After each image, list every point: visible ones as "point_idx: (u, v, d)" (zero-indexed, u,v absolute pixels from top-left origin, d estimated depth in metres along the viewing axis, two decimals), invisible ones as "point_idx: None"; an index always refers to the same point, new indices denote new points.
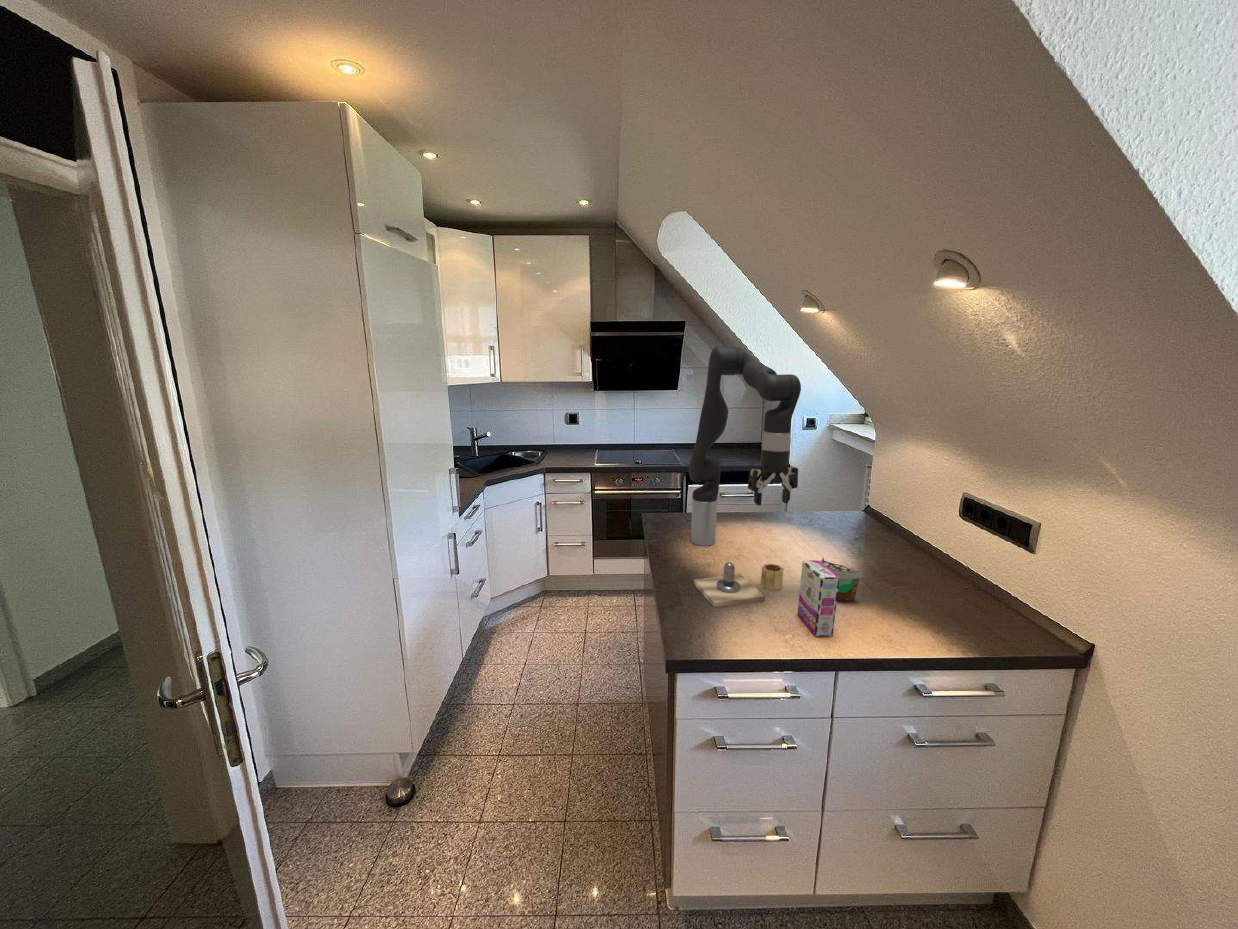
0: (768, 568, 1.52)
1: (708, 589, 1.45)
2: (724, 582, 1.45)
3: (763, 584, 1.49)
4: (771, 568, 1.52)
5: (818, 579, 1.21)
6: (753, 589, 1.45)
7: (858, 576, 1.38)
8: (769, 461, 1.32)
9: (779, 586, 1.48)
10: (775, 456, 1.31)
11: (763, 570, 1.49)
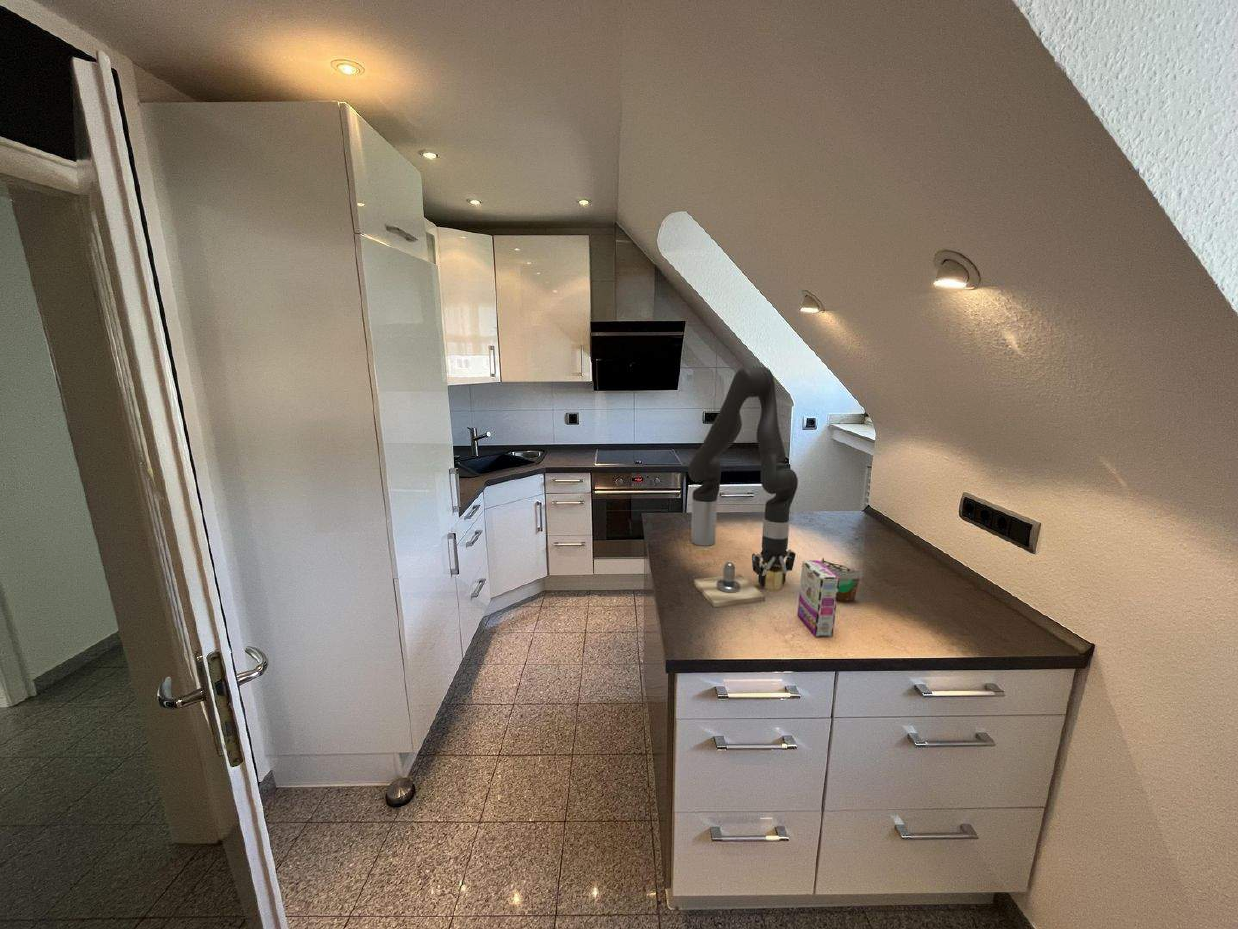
0: None
1: (708, 589, 1.45)
2: (724, 582, 1.45)
3: None
4: (771, 568, 1.52)
5: (818, 579, 1.21)
6: (753, 589, 1.45)
7: (858, 576, 1.38)
8: (769, 547, 1.45)
9: (779, 586, 1.48)
10: (774, 543, 1.44)
11: None
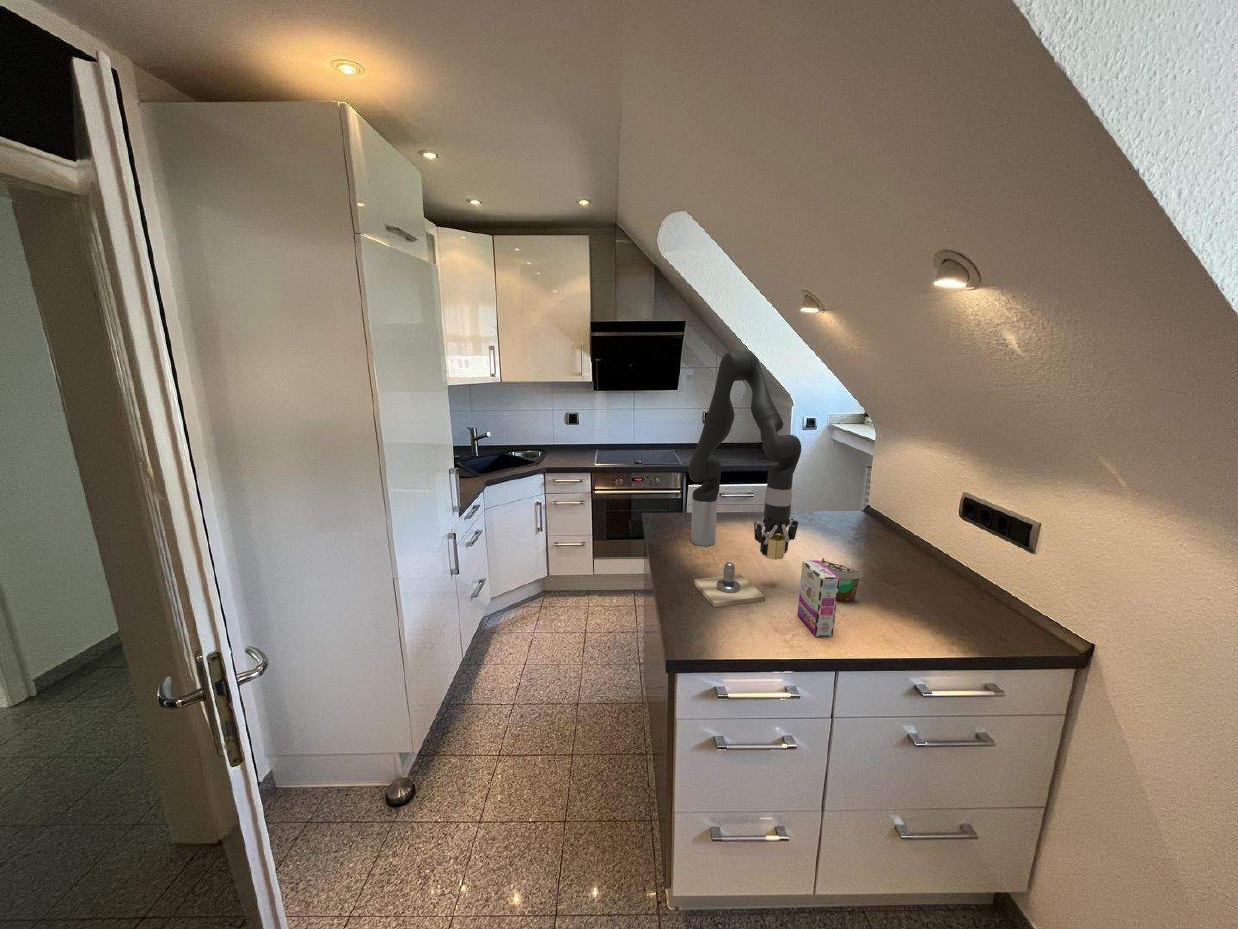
0: None
1: (708, 589, 1.45)
2: (724, 582, 1.45)
3: None
4: (773, 537, 1.50)
5: (818, 580, 1.21)
6: (753, 589, 1.45)
7: (858, 576, 1.38)
8: (772, 514, 1.42)
9: (781, 555, 1.46)
10: (777, 510, 1.41)
11: None
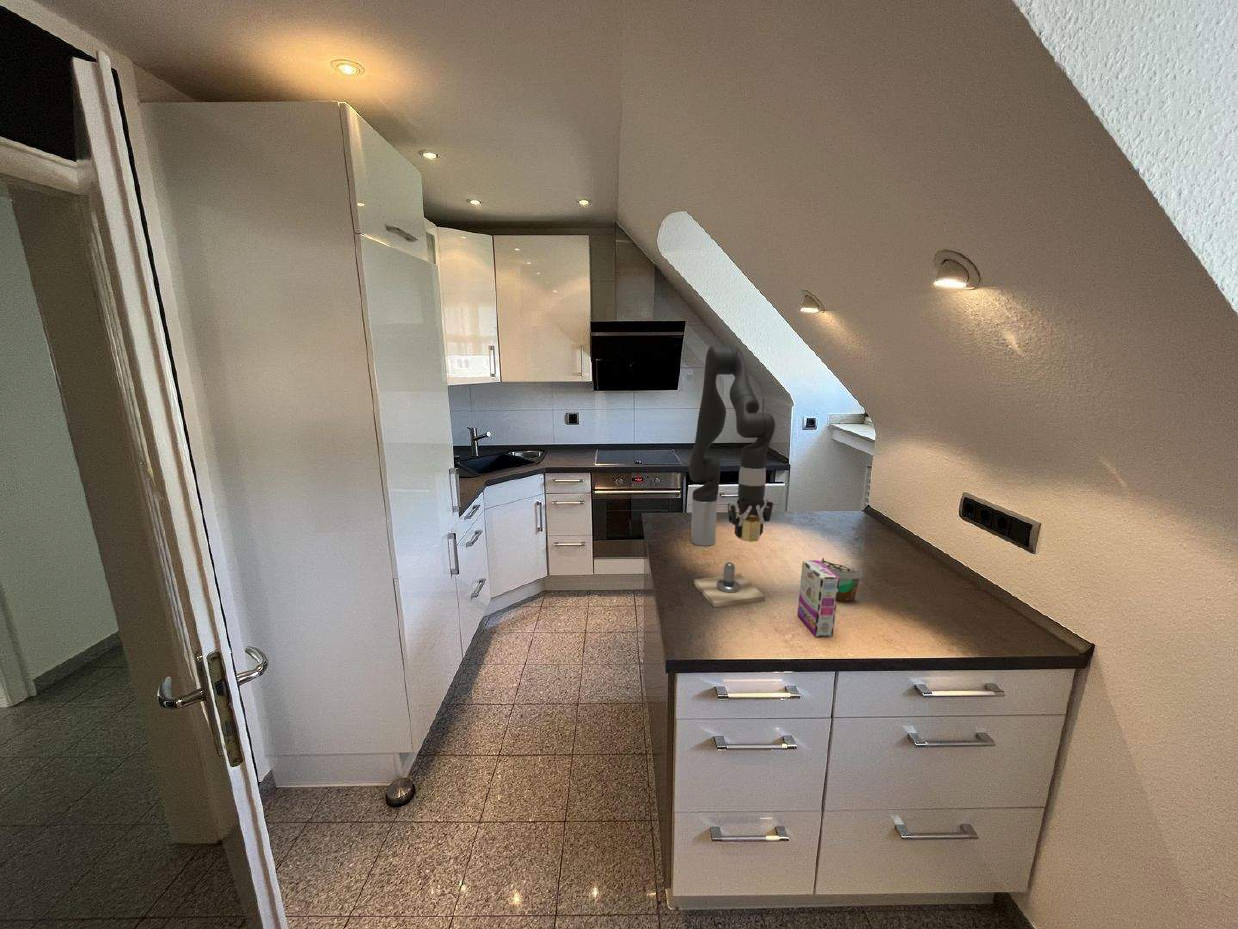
0: (745, 519, 1.45)
1: (708, 589, 1.45)
2: (724, 582, 1.45)
3: None
4: (748, 520, 1.45)
5: (818, 579, 1.21)
6: (753, 589, 1.45)
7: (858, 576, 1.38)
8: (746, 495, 1.38)
9: (756, 537, 1.41)
10: (751, 490, 1.37)
11: None
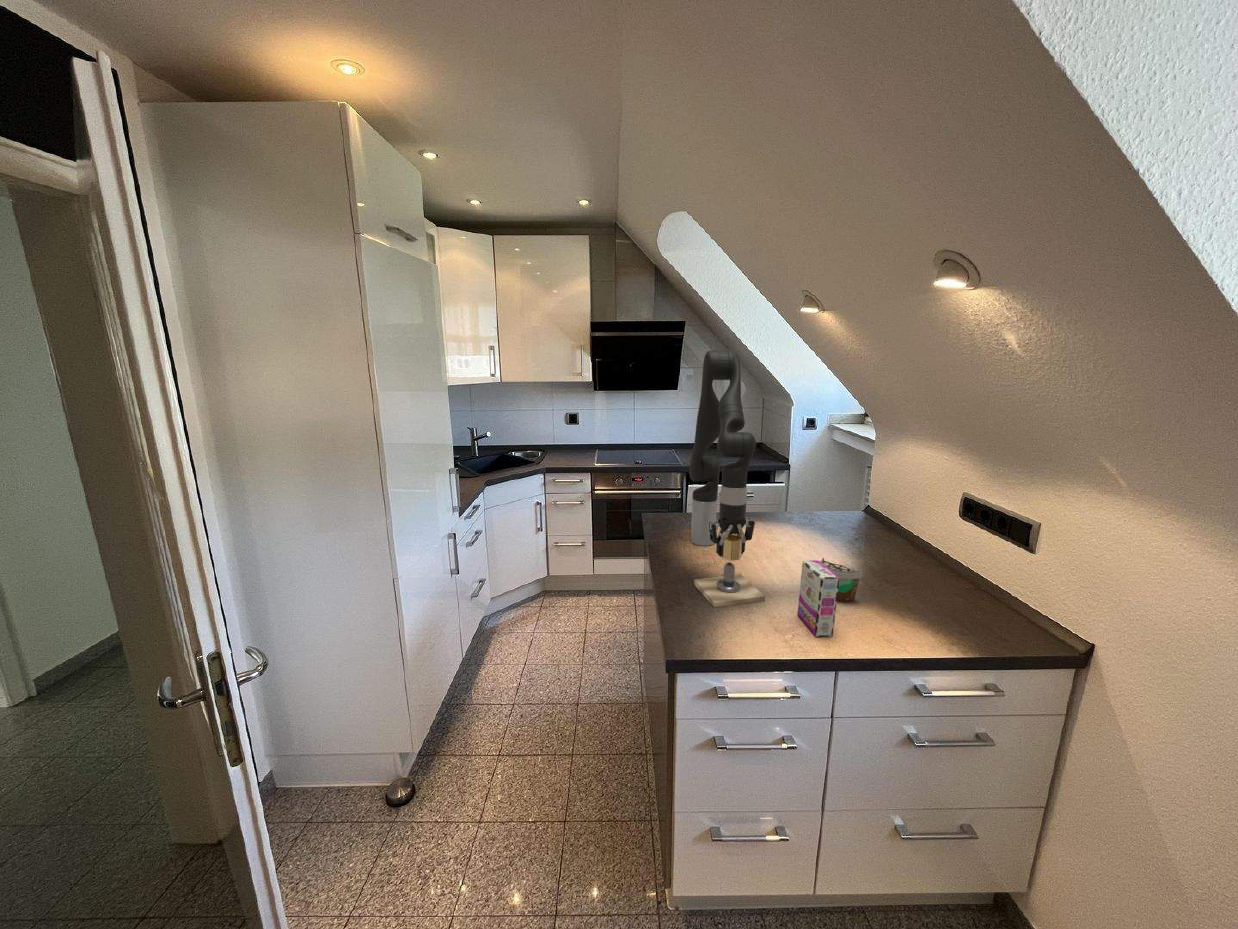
0: (727, 538, 1.45)
1: (708, 589, 1.45)
2: (724, 582, 1.45)
3: None
4: (730, 538, 1.45)
5: (818, 579, 1.21)
6: (753, 589, 1.45)
7: (858, 576, 1.38)
8: (726, 514, 1.38)
9: (737, 556, 1.41)
10: (731, 510, 1.37)
11: None
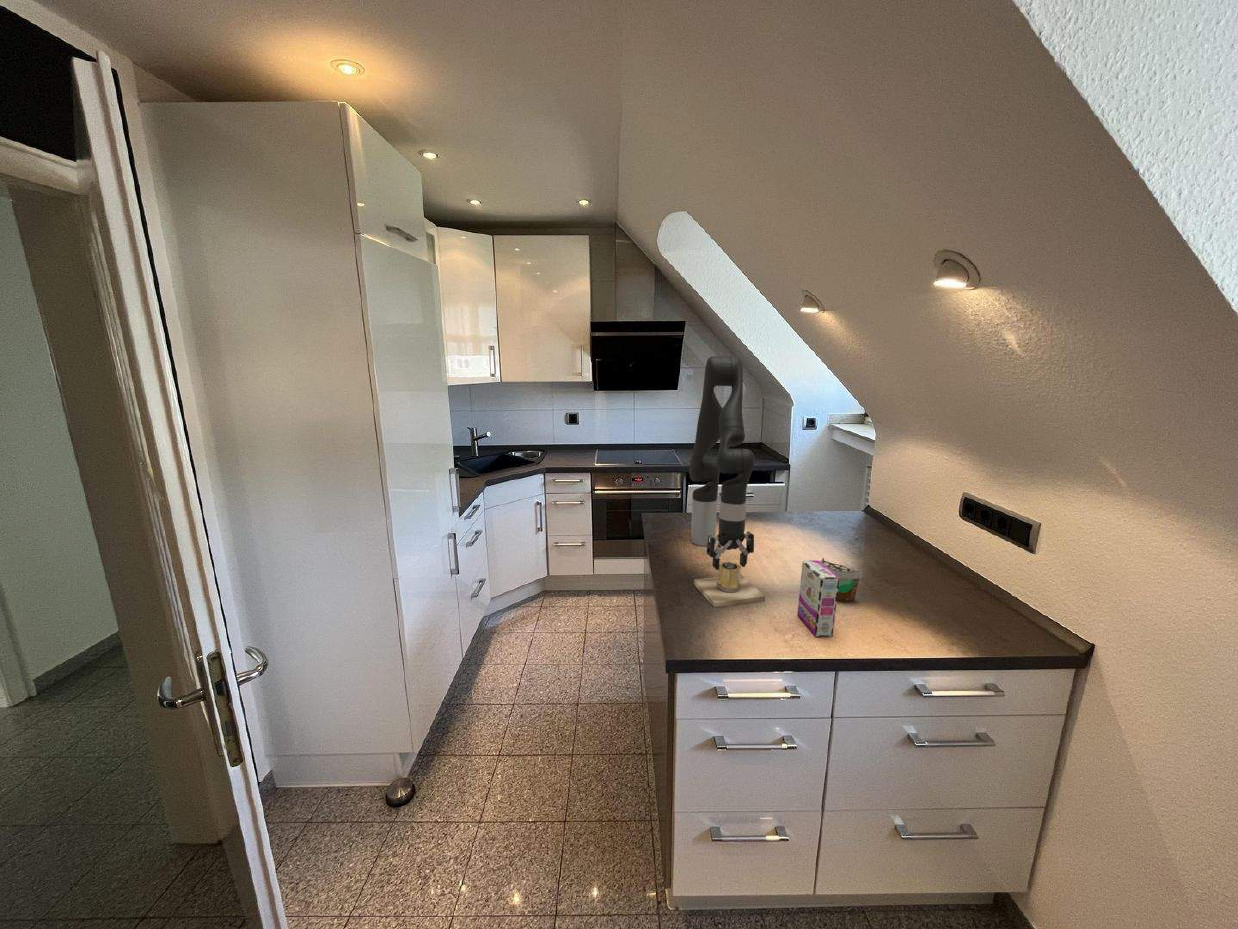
0: None
1: (708, 589, 1.45)
2: None
3: (720, 583, 1.45)
4: None
5: (818, 580, 1.21)
6: (753, 589, 1.45)
7: (858, 576, 1.38)
8: (725, 530, 1.39)
9: (736, 585, 1.43)
10: (730, 525, 1.38)
11: (720, 568, 1.44)
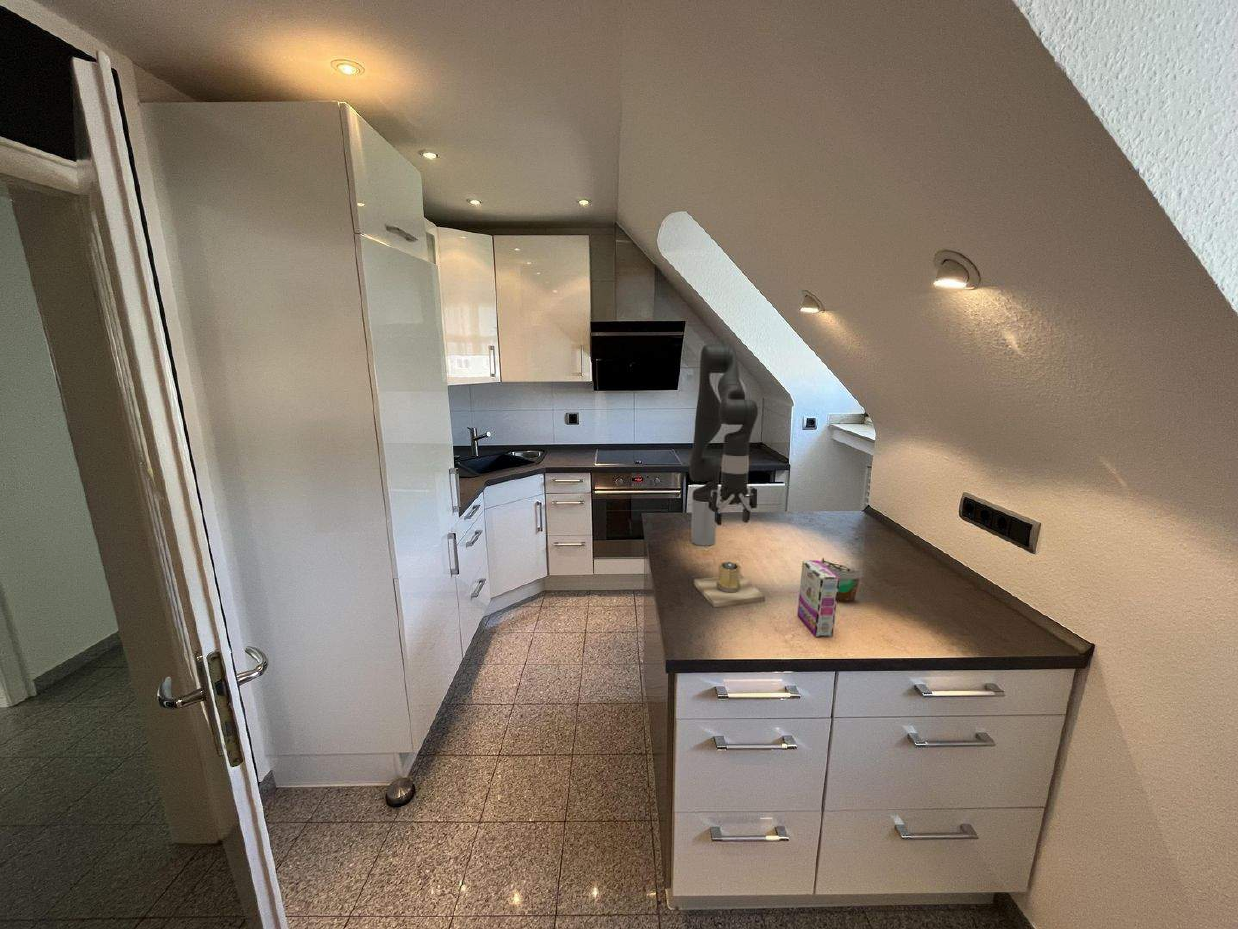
0: None
1: (708, 589, 1.45)
2: None
3: (720, 583, 1.45)
4: None
5: (818, 579, 1.21)
6: (753, 589, 1.45)
7: (858, 576, 1.38)
8: (728, 483, 1.36)
9: (736, 585, 1.43)
10: (733, 478, 1.35)
11: (720, 568, 1.44)
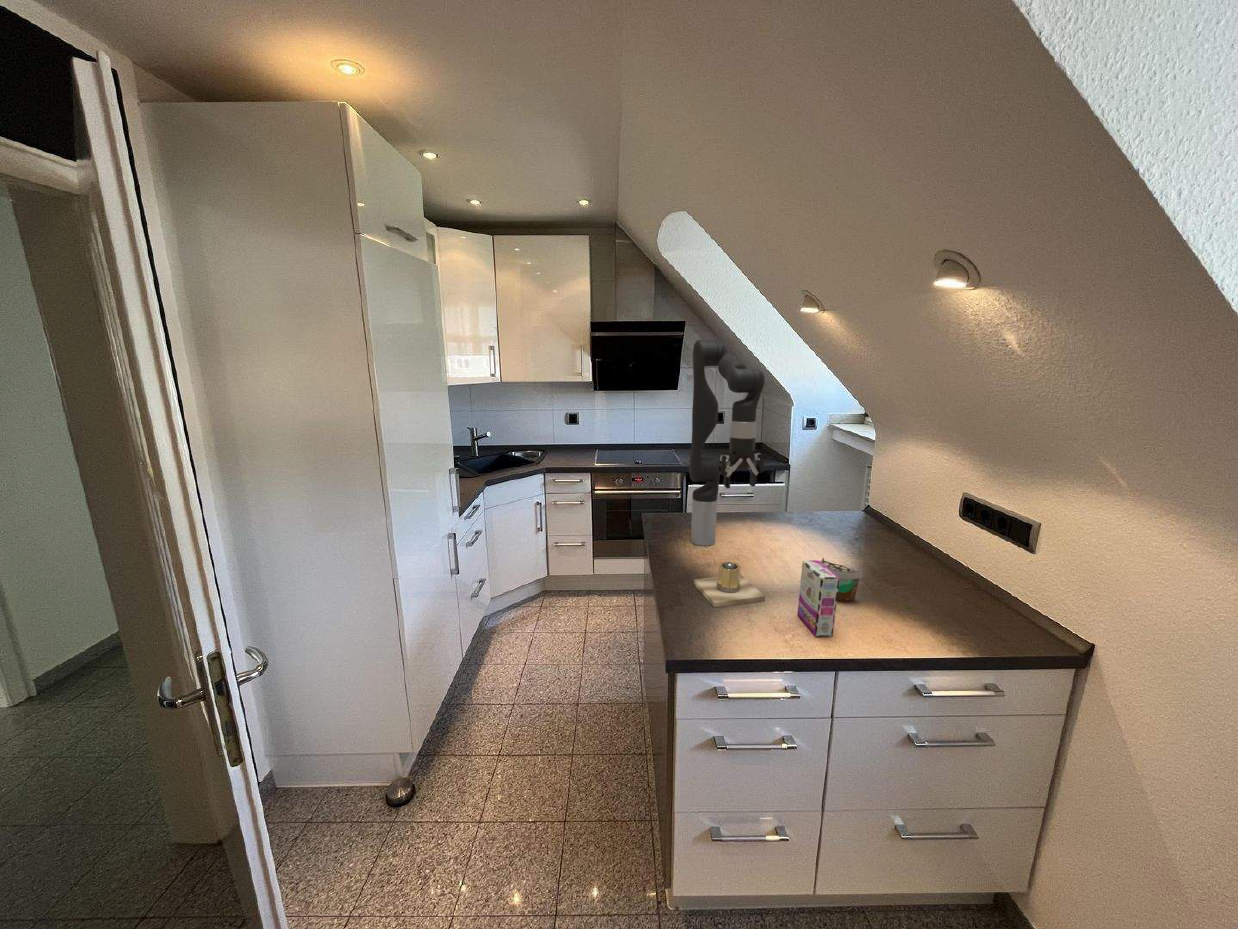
0: None
1: (708, 589, 1.45)
2: None
3: (720, 583, 1.45)
4: None
5: (818, 579, 1.21)
6: (753, 589, 1.45)
7: (858, 576, 1.38)
8: (736, 447, 1.45)
9: (736, 585, 1.43)
10: (741, 443, 1.44)
11: (720, 568, 1.44)
